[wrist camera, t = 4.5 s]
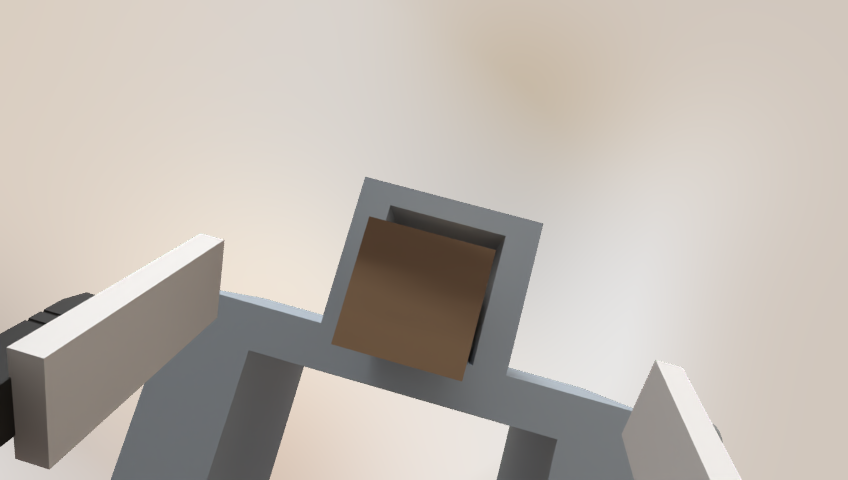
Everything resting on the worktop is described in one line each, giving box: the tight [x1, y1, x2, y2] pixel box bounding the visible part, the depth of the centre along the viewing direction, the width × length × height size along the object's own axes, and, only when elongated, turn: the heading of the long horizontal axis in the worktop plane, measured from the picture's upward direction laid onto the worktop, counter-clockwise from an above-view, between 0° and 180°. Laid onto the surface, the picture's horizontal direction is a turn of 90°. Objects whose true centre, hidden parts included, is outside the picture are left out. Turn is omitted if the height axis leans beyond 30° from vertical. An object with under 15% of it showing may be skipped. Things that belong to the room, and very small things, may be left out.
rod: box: [331, 216, 496, 381], centre depth 26 cm, size 24×4×4 cm, turn 179°
